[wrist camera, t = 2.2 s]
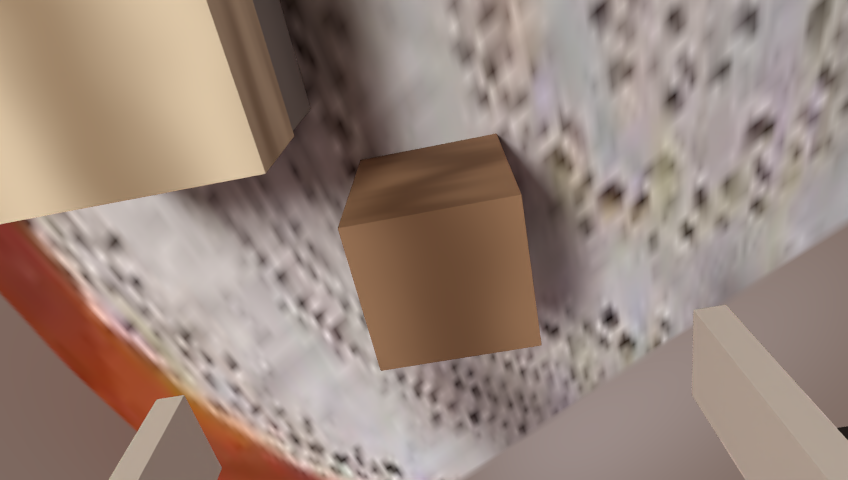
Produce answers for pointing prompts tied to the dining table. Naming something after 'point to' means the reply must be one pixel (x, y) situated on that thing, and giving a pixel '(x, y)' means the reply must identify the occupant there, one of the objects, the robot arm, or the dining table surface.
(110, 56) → the tower top
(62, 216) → the dining table surface
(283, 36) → the tower base
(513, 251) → the walnut block
